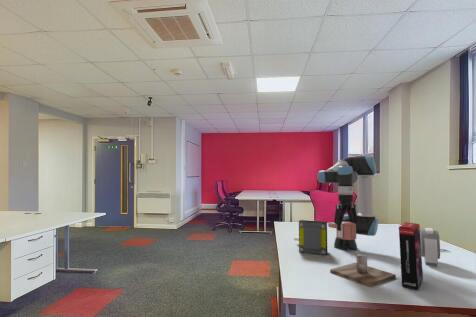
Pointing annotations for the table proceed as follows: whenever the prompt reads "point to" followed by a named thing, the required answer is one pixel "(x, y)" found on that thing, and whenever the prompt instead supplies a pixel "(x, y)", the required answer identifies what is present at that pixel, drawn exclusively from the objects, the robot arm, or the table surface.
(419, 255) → the graphics card box
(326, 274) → the table surface
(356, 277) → the base
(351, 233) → the cap
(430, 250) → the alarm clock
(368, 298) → the table surface
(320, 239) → the electrical component
